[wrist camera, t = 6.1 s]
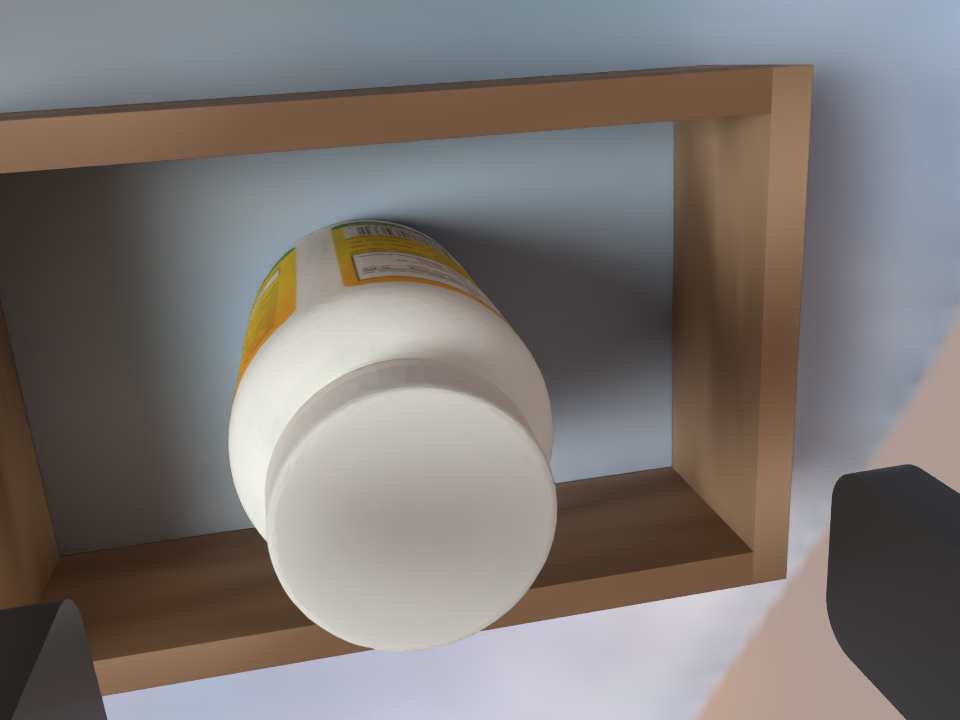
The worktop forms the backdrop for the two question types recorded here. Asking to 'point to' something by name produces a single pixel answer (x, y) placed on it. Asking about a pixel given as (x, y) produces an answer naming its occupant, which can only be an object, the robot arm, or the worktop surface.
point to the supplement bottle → (391, 440)
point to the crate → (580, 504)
